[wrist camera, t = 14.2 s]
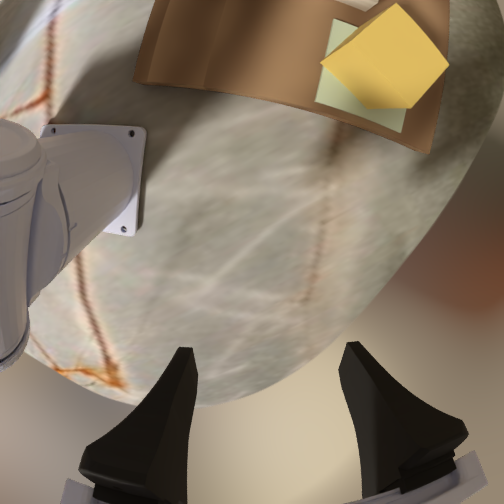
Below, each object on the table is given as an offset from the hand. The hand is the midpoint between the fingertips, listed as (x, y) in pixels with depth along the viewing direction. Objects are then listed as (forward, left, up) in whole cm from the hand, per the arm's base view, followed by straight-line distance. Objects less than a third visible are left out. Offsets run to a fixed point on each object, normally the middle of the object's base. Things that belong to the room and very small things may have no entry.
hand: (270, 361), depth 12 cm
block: (+3, +15, -8) cm, 17 cm away
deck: (0, +19, -10) cm, 22 cm away
